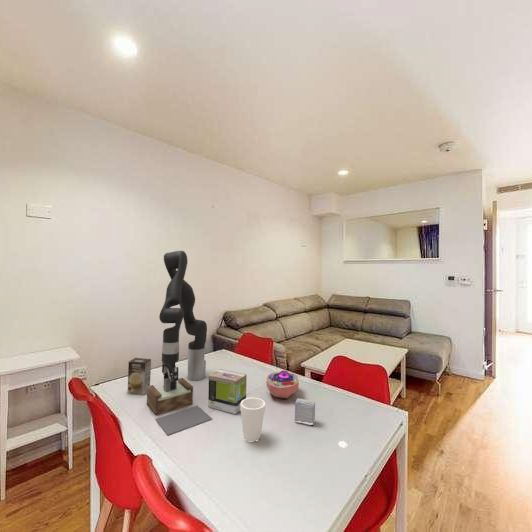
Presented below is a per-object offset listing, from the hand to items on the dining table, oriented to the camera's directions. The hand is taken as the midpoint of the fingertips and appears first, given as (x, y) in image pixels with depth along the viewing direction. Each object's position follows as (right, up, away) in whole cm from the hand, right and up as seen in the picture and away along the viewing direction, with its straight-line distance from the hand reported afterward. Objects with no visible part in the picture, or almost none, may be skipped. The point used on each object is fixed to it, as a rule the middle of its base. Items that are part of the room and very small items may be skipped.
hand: (169, 386), depth 130 cm
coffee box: (-20, -8, +12) cm, 25 cm away
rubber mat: (+10, -9, -12) cm, 18 cm away
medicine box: (+61, -10, -12) cm, 63 cm away
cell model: (+53, -10, +13) cm, 56 cm away
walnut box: (0, -9, 0) cm, 9 cm away
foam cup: (+39, -10, -23) cm, 47 cm away
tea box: (+27, -10, 0) cm, 28 cm away
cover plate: (0, -3, 0) cm, 3 cm away
